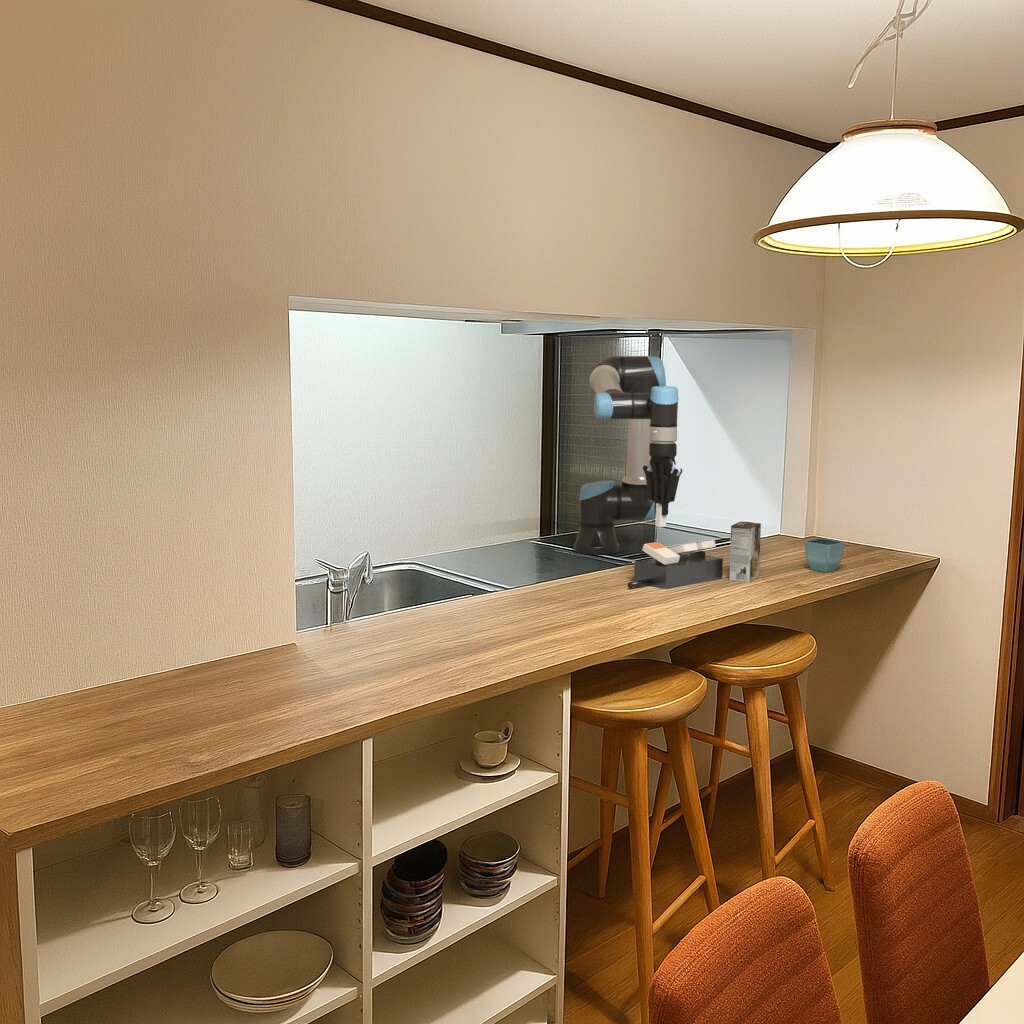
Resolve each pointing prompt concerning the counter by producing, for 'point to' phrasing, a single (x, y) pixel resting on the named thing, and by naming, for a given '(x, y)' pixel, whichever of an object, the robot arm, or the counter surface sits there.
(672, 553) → the rocker
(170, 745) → the counter surface
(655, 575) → the dark gray long block
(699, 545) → the rocker
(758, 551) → the coffee box
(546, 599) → the counter surface
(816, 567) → the flower pot
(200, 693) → the counter surface
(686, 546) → the rocker
